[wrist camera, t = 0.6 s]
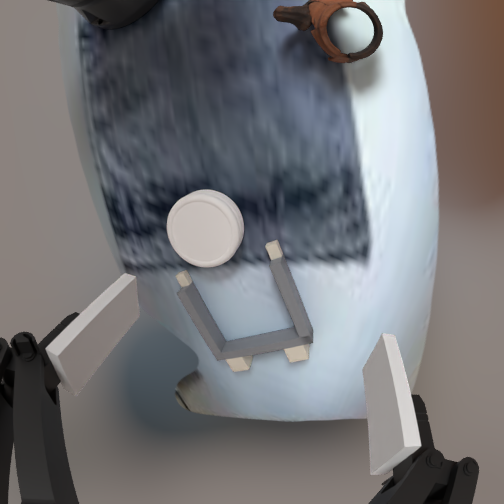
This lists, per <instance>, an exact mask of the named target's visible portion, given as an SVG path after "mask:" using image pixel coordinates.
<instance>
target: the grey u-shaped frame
mask: <svg viewBox="0 0 504 504" xmlns="http://www.w3.org/2000/svg"><path fill="white" fill-rule="evenodd" d="M265 247H266V249H267V251H268V254H269V256H270V258H271V262H270V265H269V267H270V269H271V271H272V273H273V276H274V278H275V280H276V283H277V285H278V287H279V290H280V292H281V294H282V297H283V299H284V302H285V304H286V306H287V309H288V311H289V313H290V316H291V318H292V320H293V323H294V325H295V327H291V328H287V329H283V330H278V331H274V332H269V333H265V334H260V335H255V336H251V337H246V338H241V339H235V340H230V341H226V340H225V338H224V337H223V335H222V333H221V331H220V330H219V328H218V326H217V324H216V323H215V321H214V319H213V317H212V316H211V314H210V312H209V310H208V309H207V307H206V305H205V303H204V301H203V300H202V298H201V296H200V294H199V292H198V290H197V289H196V287H195V285H194V283H193V281H192V279H191V277H190V275H189V274H188V272H187V270H185V271H182V272H179V273H178V274H177V275H176V278H177V280H178V282H179V283H180V285H181V287H182V288H181V289H180V290H179V291H178V293H177V295H178V296H179V298H180V300H181V302H182V303H183V305H184V307H185V309H186V310H187V312H188V314H189V315H190V317H191V319H192V320H193V322H194V324H195V325H196V327H197V329H198V330H199V332H200V334H201V335H202V337H203V339H204V340H205V342H206V343H207V345H208V347H209V348H210V350H211V351H212V353H213V354H214V356H215V358H216V359H217V361H219V360H226V361H227V363H228V364H229V366H230V368H231V369H232V371H233V372H236V371H243V370H249V369H250V366H251V362H252V359H253V357H252V355H256V354H262V353H267V352H272V351H277V350H282V349H284V351H285V353H286V355H287V357H288V359H289V361H290V363H291V362H296V361H301V360H306V359H309V347H310V346H309V344H310V343H313V328H312V326H311V323H310V320H309V318H308V315H307V313H306V310H305V308H304V305H303V302H302V300H301V297H300V295H299V292H298V290H297V287H296V285H295V282H294V280H293V277H292V275H291V272H290V270H289V267H288V265H287V262H286V260H285V257H284V255H283V252H282V250H281V247H280V245H279V242H278V240H275V241H272V242H269V243H267V244H266V246H265Z"/></svg>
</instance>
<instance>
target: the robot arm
mask: <svg viewBox="0 0 504 504" xmlns="http://www.w3.org/2000/svg"><path fill="white" fill-rule="evenodd" d="M49 1H53V2H56V3H60V4H64V5H68V6H71V7H74V8H75V9H76V10H77V11H78V12H79V13H80V14H81V15H82V16H83V17H84V18H85V19H86V20H87V21H88V22H89V23H90V24H92V25H94V26H97V27H100V28H103V29H117V28H121V27H124V26H126V25H128V24H130V23H132V22H134V21H136V20H137V19H139V18H140V17H141V16H143V15H144V14H145V13H147V12H148V11H149V10H150V9H151V8H152V7H153V6H154V5H155V4H156V3H157V2H158V0H49ZM139 316H140V315H139V305H138V294H137V281H136V276H133V275H129V274H126V273H124V274H123V275H122V276H121V277H120V278H119V279H118V280H116V282H114V283H113V284H112V285H111V286H110V287H109V288H108V289H106V290H105V291H104V292H103V293H102V294H101V295H100V296H99V297H98V298H97V299H96V300H94V301H93V302H92V303H91V304H90V305H89V306H88V307H87V308H86V309H85V310H84V311H83V312H82V313H81V314H79V313H77V312H75V313H73V314H71V315H69V316H67V317H66V318H65V319H64V320H63V321H62V322H61V323H60V324H58V325H57V326H56V327H55V329H53V330H52V331H51V332H50V333H49V334H48V335H47V336H46V337H45V338H44V339H43V340H42V341H41V342H40V343H39V344H38V345H37V342H36V340H35V337H34V336H33V335H32V334H31V333H29V332H21V333H18V334H16V335H15V336H14V337H13V338H12V339H11V342H10V344H11V346H12V348H10V347H9V345H8V343H7V341H6V340H5V339H3V338H0V504H8V489H9V474H10V463H11V456H12V449H13V443H14V448H15V459H16V468H17V476H18V482H19V488H20V494H21V499H22V502H21V504H79V502H78V498H77V495H76V491H75V488H74V484H73V480H72V476H71V471H70V467H69V463H68V458H67V452H66V447H65V441H64V435H63V428H62V420H61V411H60V401H59V391H58V387H57V385H58V384H59V383H60V382H61V384H62V385H63V387H64V389H65V390H66V391H68V392H70V393H71V394H73V395H75V396H77V395H78V393H79V392H80V391H81V389H82V388H83V387H84V386H85V384H86V383H87V382H88V380H89V379H90V378H91V376H92V375H93V374H94V373H95V371H96V370H97V369H98V367H99V366H100V365H101V364H102V362H103V361H104V360H105V358H106V357H107V356H108V355H109V353H110V352H111V351H112V350H113V348H114V347H115V346H116V345H117V343H118V342H119V341H120V339H121V338H122V337H123V336H124V335H125V333H126V332H127V331H128V330H129V328H130V327H131V326H132V325H133V324H134V322H135V321H136V320H137V319H138V318H139ZM362 370H363V378H364V387H365V396H366V406H367V418H368V431H369V448H370V474H371V475H379V474H387V473H388V472H390V471H391V470H392V469H393V476H392V477H390V478H389V479H387V480H386V481H384V482H383V483H382V485H384V484H385V485H384V486H383V488H382V489H381V490H380V491H379V492H378V493H377V495H376V496H375V497H374V498H373V499H372V500H371V501H370V502H369V504H472V501H473V497H474V493H475V489H476V484H477V479H478V474H479V466H478V464H477V462H476V461H475V460H474V459H473V458H471V457H466V458H463V459H462V460H461V461H460V462H454V461H450V460H446V459H445V458H444V456H443V454H442V453H441V452H440V451H438V450H436V449H435V448H434V443H433V439H432V434H431V429H430V424H429V422H428V415H427V414H426V413H427V411H426V407H425V404H424V402H423V400H422V399H421V397H420V396H419V395H411V392H410V388H409V384H408V380H407V376H406V373H405V369H404V365H403V361H402V358H401V354H400V351H399V347H398V344H397V341H396V337H395V335H390V334H384V333H382V334H381V336H380V338H379V340H378V342H377V344H376V346H375V348H374V350H373V351H372V353H371V355H370V357H369V359H368V360H367V362H366V364H365V366H364V367H363V369H362ZM2 379H3V380H2ZM1 381H2V382H1Z"/></svg>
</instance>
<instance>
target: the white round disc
mask: <svg viewBox="0 0 504 504" xmlns="http://www.w3.org/2000/svg"><path fill="white" fill-rule="evenodd" d="M167 233H168V237H169V240H170V243H171V245H172V247H173V248H174V250H175V251H176V252H177V253H178V255H179V256H180V257H182V258H183V259H184V260H185V261H187V262H189V263H190V264H193V265H195V266H199V267H215V266H218V265H221V264H223V263H225V262H227V261H228V260H229V259H230V258H231V257H232V256H233V255H234V254H235V252H236V250H237V249H238V247H239V246H240V244H241V242H242V239H243V235H244V222H243V218H242V215H241V212H240V210H239V209H238V207H237V205H236V204H235V203H234V202H233V201H232V200H231V199H230V198H229V197H227V196H226V195H224V194H222V193H220V192H218V191H214V190H207V189H206V190H198V191H195V192H192V193H190V194H188V195H186V196H185V197H183V198H181V199H180V200H178V201H177V202H176V203H175V205H174V206H173V207H172V209H171V211H170V213H169V216H168V220H167Z"/></svg>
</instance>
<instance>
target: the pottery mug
mask: <svg viewBox="0 0 504 504" xmlns="http://www.w3.org/2000/svg"><path fill="white" fill-rule="evenodd" d="M346 7H352V8H357V9H360V10H361V11H363V12H364V13H366V14H367V15H368V16H369V18H370V19H371V21H372V23H373V26H374V36H373V39H372V41H371V43H370V44H369V46H367V47H366V48H365V49H364V50H362V51H359V52H356V53H349V54H343V53H341V51H340V50H339V49H338V48H336V47H335V46H334V45H333V44H332V43H331V41H330V39H329V37H328V34H327V28H326V26H327V22H328V20H329V18H330V16H331V15H332V14H333V13H334V12H335V11H337V10H339V9H341V8H346ZM273 16H274V18H275V19H276V20H277V21H280V22H287V23H291V24H294V25H295V26H296V27H297V28H298V29H299V30H302V31H305V30H307V29H309V27H310V26H311V23H312V24H313V25H314V27H315V29H314V30H312V31H311V33H312V35H313V37H314V39H315V40H316V42H317V43H318V44H319V46H320V47H321V48H322V49H323V50H324V51H325V52H326V53H327V54H328V55H330V56H331V57H329V58H328V60H329V61H333V62H338V63H346V62H347V63H352V62H355V61H357V60H360V59H363V58H366V57H368V56H370V55H372V54H373V53H374V52H375V51H376V49H377V48H378V47H379V46H380V43H381V41H382V37H383V29H382V25H381V22H380V20H379V18H378V16H377V15H376V13H375V12H374V11H373V10H372V9H371V8H370V7H369V6H368V5H367V4H366V3H365V2H359V3H356V2H353V0H309V1H308V2H307V3H306V4H305V5H303V6H292V7H284V6H278V7H277V8H276V9H275V11H274V12H273Z"/></svg>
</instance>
